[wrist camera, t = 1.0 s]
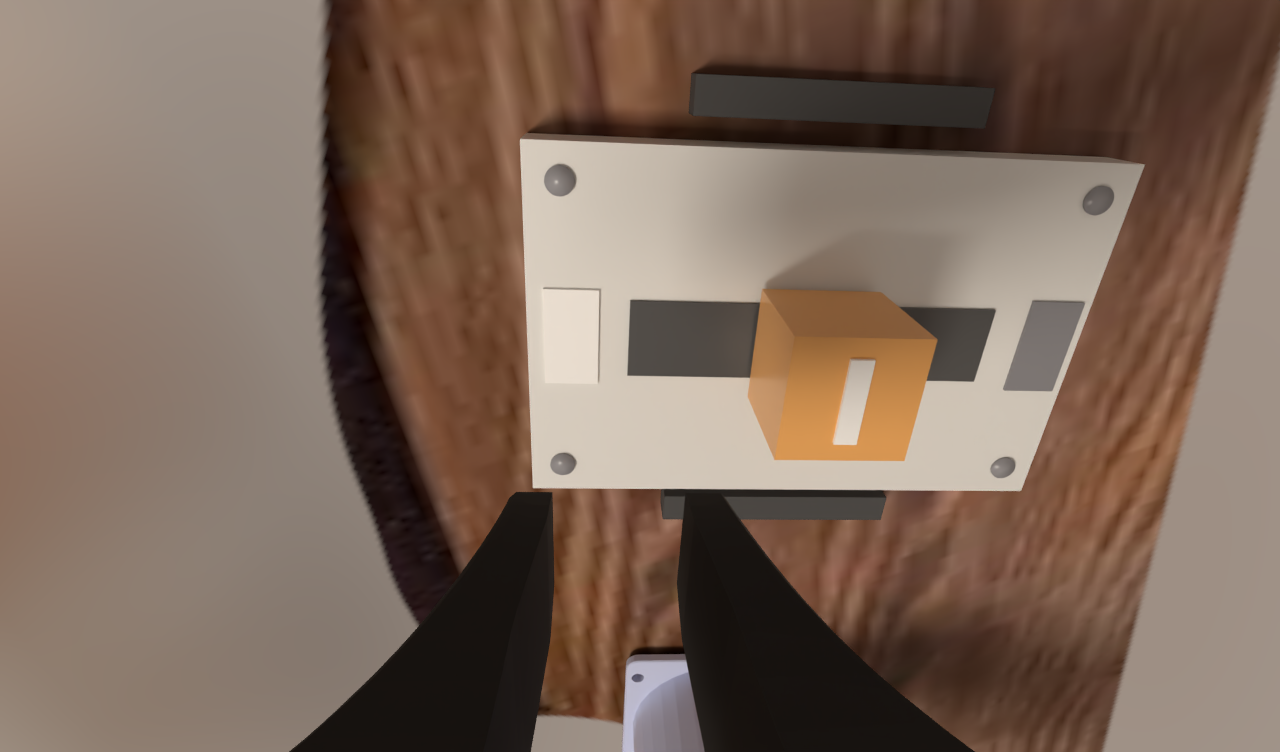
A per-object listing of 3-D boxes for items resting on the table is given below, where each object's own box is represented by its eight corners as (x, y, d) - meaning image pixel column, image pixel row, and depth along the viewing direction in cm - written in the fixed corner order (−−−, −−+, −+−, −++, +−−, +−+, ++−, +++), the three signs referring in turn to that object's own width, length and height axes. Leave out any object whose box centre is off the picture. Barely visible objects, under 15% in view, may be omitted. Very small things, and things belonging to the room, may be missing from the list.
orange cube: (857, 398, 20) (905, 463, 17) (747, 396, 20) (775, 462, 17) (881, 292, 18) (939, 340, 15) (761, 288, 18) (795, 338, 15)
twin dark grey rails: (870, 502, 24) (880, 519, 23) (660, 501, 24) (662, 519, 23) (975, 86, 18) (995, 88, 17) (691, 72, 17) (695, 73, 16)
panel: (997, 466, 24) (1022, 492, 22) (537, 462, 23) (532, 489, 21) (1106, 156, 19) (1147, 164, 17) (526, 132, 18) (519, 139, 16)
